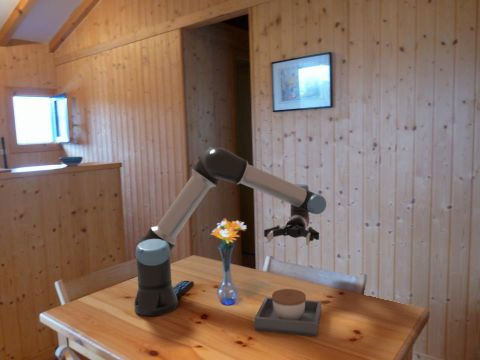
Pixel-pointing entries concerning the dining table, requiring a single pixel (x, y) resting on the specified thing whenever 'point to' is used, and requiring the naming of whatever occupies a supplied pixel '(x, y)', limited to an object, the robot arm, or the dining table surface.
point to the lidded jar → (289, 303)
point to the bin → (303, 326)
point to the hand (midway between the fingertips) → (287, 240)
